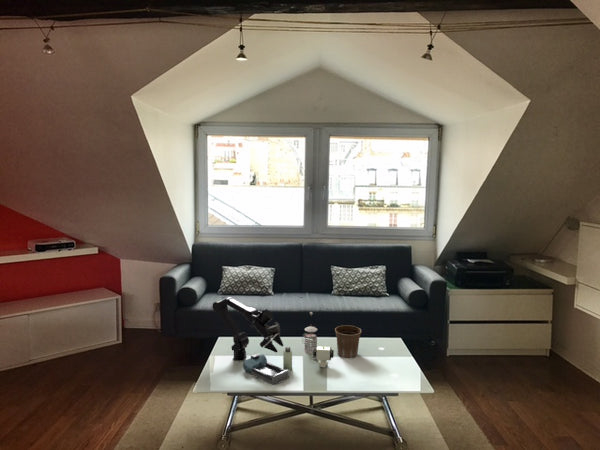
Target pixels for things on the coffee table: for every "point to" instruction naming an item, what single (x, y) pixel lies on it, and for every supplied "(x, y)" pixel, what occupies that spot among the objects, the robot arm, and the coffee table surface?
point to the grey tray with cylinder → (265, 369)
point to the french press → (313, 342)
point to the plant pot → (347, 341)
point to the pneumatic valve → (323, 355)
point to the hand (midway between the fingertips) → (280, 348)
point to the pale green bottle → (287, 359)
